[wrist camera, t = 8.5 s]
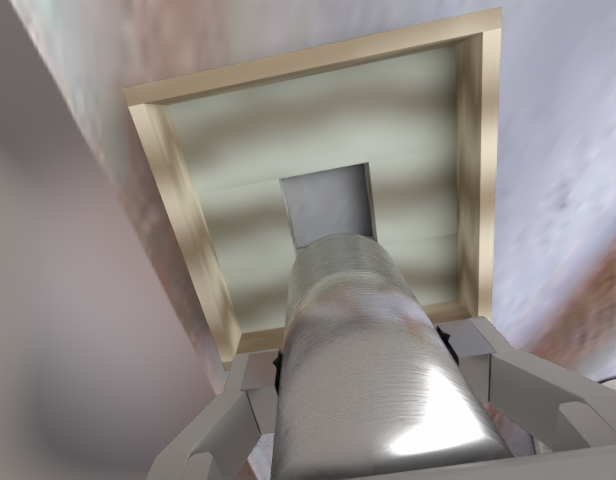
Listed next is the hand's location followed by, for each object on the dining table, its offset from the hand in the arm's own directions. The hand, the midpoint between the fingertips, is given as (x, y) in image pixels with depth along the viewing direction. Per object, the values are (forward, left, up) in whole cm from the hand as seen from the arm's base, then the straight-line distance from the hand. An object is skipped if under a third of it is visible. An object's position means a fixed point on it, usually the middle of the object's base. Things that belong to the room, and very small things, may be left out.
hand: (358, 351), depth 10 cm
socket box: (0, 0, -18) cm, 18 cm away
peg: (0, 0, -5) cm, 4 cm away
